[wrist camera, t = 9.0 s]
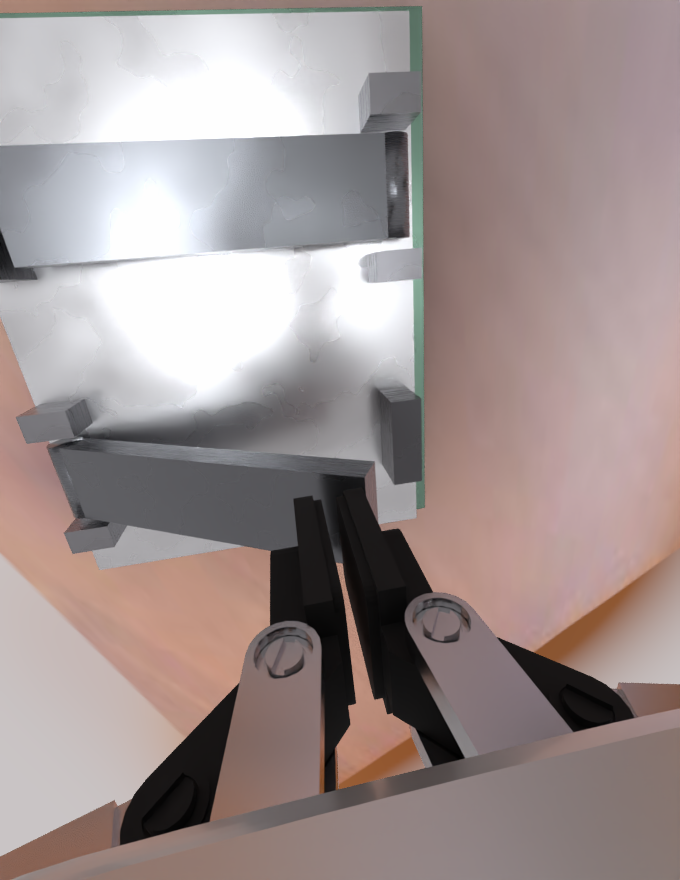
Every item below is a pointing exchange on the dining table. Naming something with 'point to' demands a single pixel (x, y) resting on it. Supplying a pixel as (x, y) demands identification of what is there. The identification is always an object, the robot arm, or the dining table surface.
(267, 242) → the strap
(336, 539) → the strap
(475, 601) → the dining table surface
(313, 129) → the base
